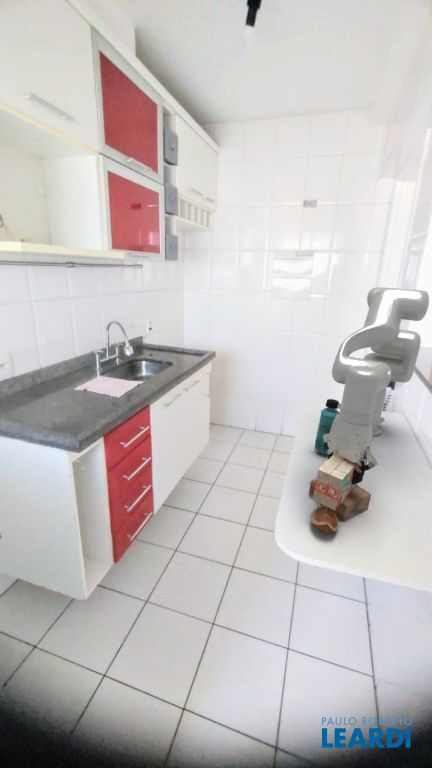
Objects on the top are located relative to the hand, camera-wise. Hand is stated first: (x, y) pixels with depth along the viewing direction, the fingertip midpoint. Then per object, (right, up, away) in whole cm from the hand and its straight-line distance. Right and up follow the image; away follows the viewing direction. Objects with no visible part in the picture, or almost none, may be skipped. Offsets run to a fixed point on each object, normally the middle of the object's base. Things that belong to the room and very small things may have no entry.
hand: (343, 474), depth 92 cm
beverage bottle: (+3, 0, +28) cm, 28 cm away
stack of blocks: (-1, -4, +1) cm, 4 cm away
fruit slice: (-7, -12, -6) cm, 15 cm away
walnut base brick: (-1, -9, +3) cm, 9 cm away
